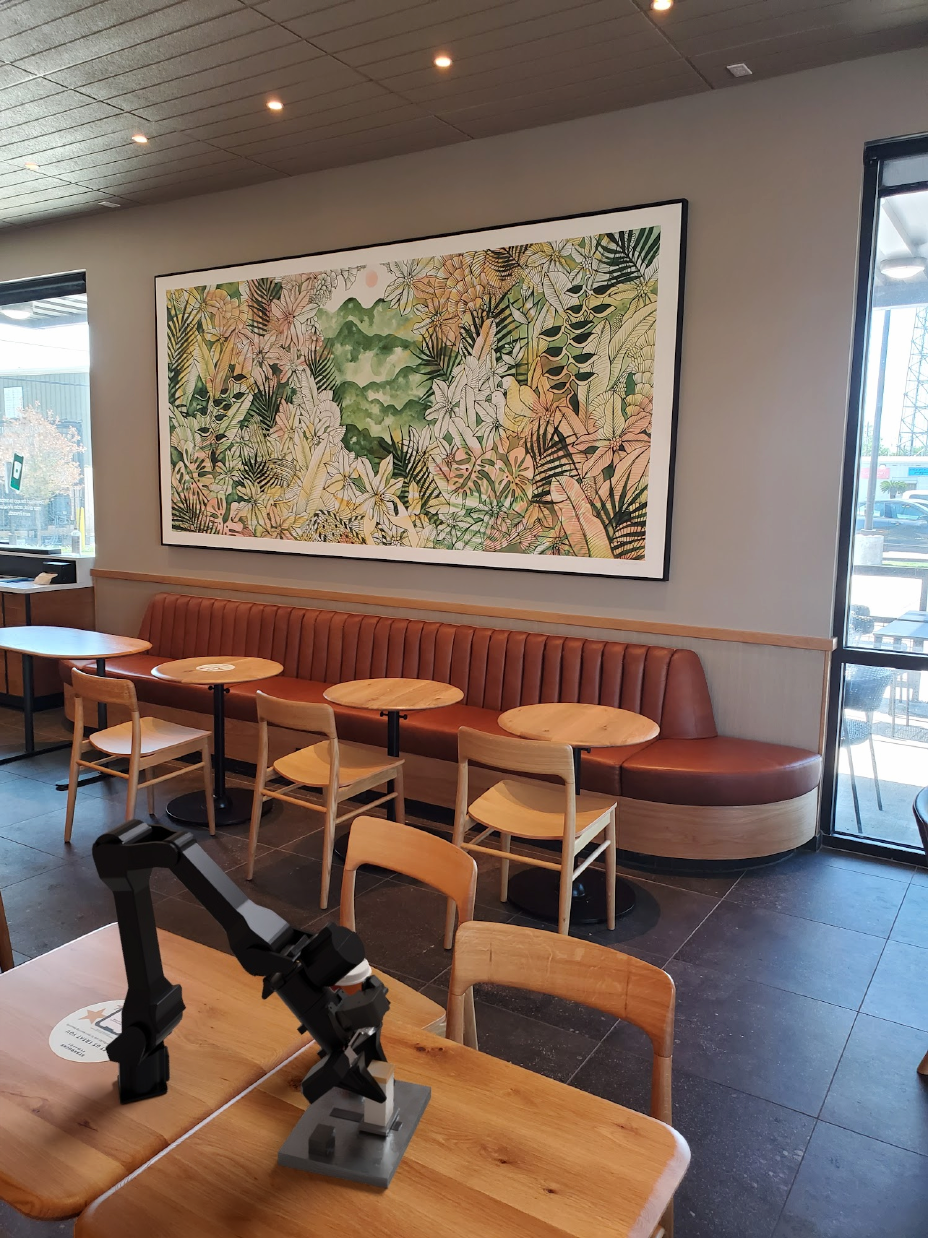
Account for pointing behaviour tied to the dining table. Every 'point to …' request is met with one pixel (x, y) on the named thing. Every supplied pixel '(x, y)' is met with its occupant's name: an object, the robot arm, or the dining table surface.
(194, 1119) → the dining table surface
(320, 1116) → the plate
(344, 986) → the paper cup
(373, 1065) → the handle
